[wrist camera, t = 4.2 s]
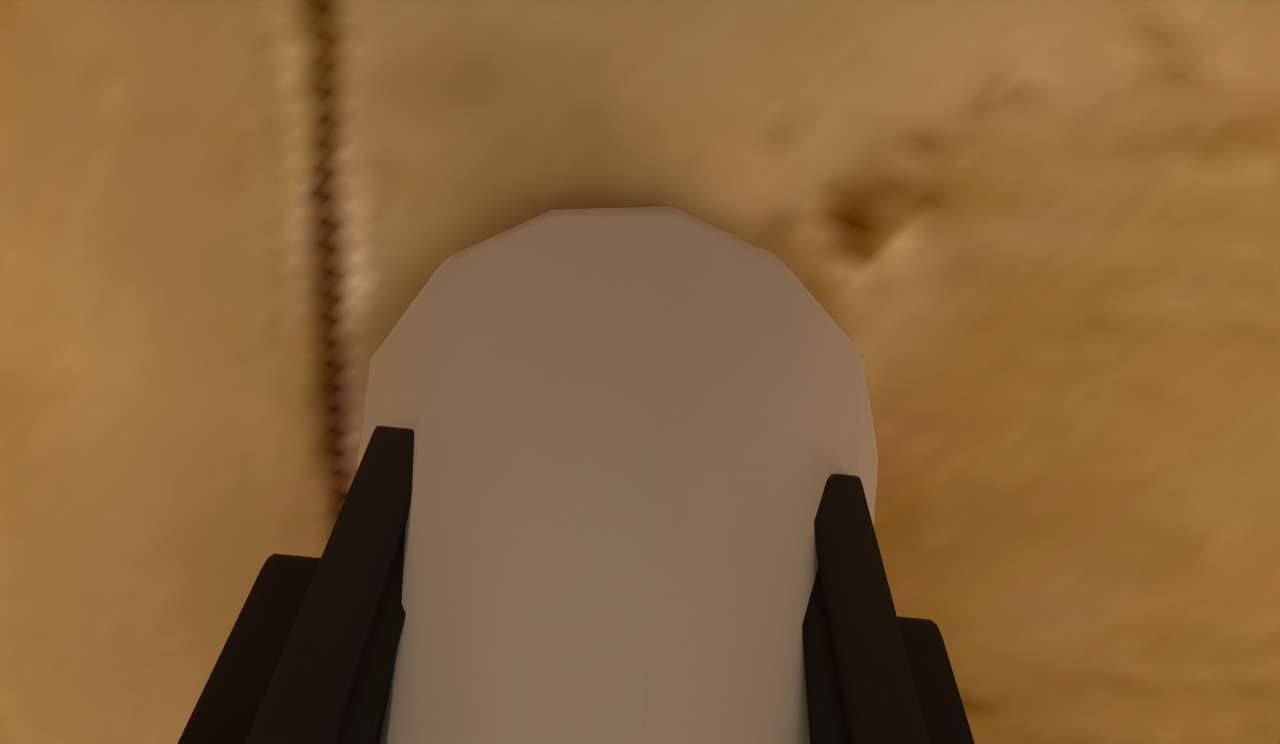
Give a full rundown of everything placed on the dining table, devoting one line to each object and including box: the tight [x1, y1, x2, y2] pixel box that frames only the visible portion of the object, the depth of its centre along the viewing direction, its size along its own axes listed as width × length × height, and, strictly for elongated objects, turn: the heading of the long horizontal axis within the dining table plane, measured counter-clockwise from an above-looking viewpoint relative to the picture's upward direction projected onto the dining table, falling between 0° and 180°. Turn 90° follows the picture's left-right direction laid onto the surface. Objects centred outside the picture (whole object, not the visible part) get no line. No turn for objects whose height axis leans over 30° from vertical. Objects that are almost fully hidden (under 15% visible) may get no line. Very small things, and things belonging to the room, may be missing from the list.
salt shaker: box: [357, 206, 878, 744], centre depth 10 cm, size 6×6×13 cm
